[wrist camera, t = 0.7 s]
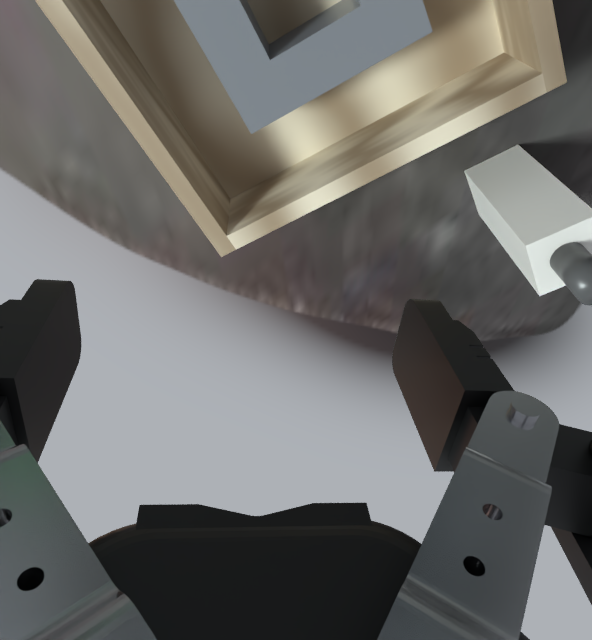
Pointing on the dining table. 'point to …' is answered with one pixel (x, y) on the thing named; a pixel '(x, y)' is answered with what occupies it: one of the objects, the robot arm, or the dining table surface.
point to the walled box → (311, 118)
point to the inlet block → (298, 50)
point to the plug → (536, 221)
